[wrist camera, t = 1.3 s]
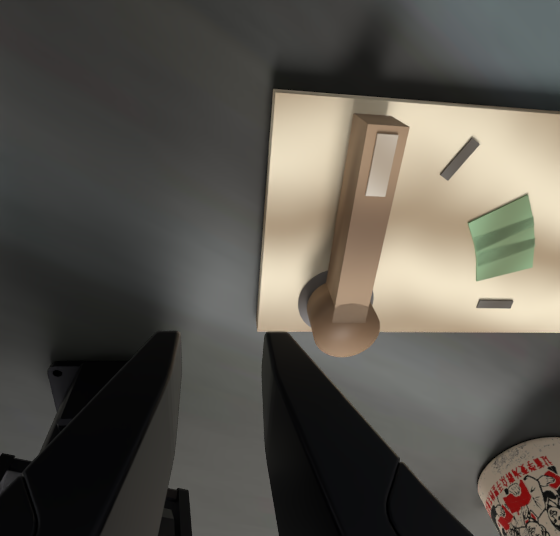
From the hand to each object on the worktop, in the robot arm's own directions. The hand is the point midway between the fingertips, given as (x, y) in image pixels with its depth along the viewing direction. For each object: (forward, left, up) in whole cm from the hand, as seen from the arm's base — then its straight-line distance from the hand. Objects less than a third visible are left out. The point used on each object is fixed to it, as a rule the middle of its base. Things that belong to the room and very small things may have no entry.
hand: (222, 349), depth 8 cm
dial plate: (-3, -11, -13) cm, 17 cm away
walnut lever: (-3, -6, -12) cm, 13 cm away
